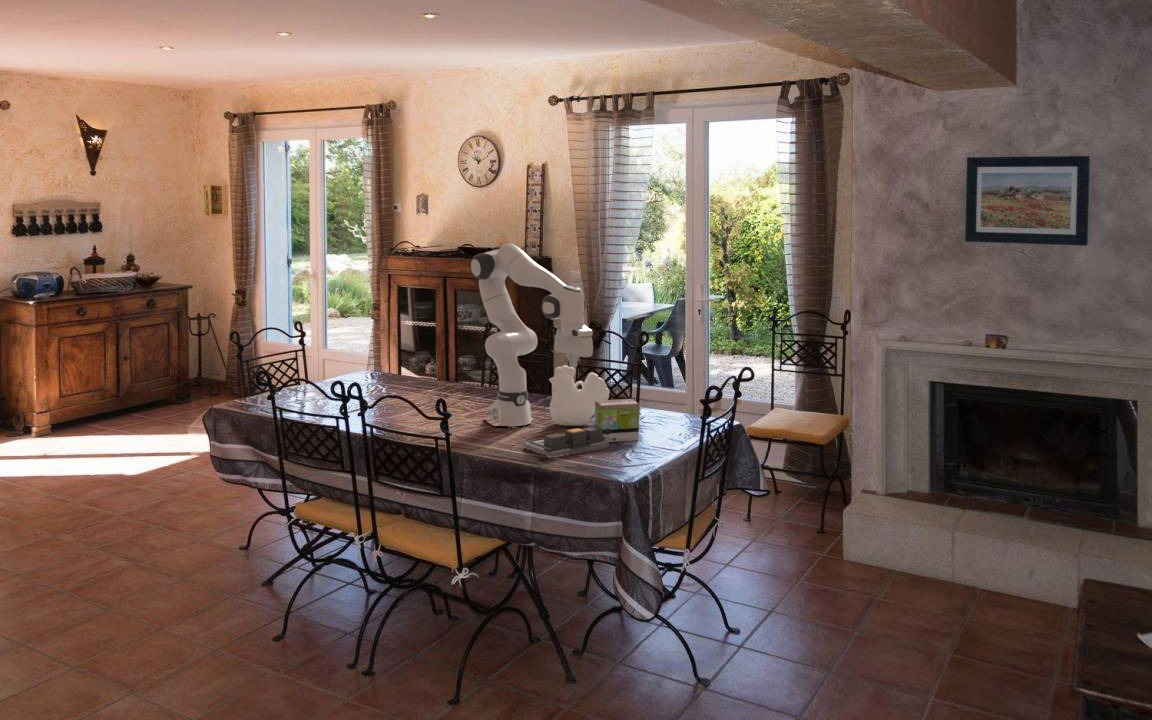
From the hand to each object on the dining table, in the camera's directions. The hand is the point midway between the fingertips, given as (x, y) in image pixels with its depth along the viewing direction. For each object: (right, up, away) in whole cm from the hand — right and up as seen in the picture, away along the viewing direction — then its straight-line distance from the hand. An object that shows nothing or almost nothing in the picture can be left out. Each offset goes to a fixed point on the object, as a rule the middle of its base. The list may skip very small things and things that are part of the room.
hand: (573, 366), depth 375 cm
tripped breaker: (+1, -29, -10) cm, 30 cm away
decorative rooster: (+3, -25, +32) cm, 40 cm away
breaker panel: (-3, -30, -5) cm, 31 cm away
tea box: (+17, -28, +8) cm, 34 cm away
